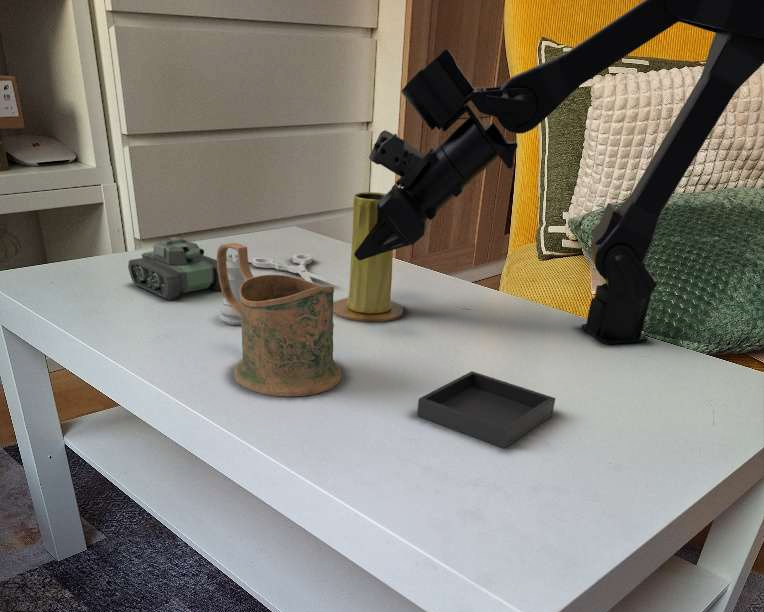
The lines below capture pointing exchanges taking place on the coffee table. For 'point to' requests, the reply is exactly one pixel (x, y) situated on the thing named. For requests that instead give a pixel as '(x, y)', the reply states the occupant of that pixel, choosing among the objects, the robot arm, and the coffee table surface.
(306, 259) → the scissors
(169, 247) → the toy tank
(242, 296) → the mug
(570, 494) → the coffee table surface
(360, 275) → the vase
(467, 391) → the black tray
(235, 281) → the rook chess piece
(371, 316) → the coaster
